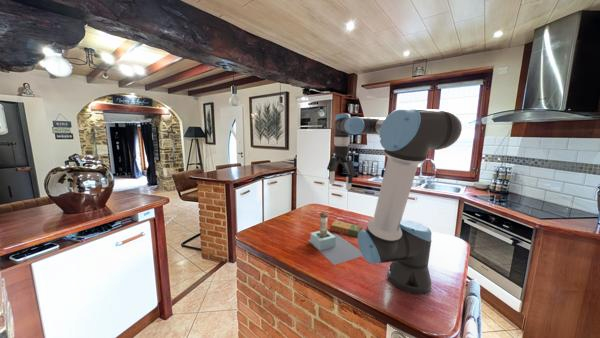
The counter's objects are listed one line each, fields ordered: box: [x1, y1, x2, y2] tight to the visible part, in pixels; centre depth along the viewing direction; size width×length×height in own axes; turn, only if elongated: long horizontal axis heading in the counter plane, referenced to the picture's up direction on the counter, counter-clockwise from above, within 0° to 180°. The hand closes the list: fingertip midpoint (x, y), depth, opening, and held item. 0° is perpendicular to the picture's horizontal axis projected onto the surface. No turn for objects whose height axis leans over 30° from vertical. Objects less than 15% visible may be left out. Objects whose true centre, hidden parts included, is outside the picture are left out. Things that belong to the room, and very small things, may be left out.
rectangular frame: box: [310, 230, 336, 251], centre depth 111 cm, size 9×9×5 cm
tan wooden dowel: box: [319, 212, 329, 238], centre depth 110 cm, size 4×4×16 cm
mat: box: [307, 232, 363, 266], centre depth 109 cm, size 24×18×1 cm
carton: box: [330, 220, 363, 238], centre depth 126 cm, size 8×16×4 cm, turn 62°
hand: (339, 186), depth 115 cm, fingers open, 13 cm apart
